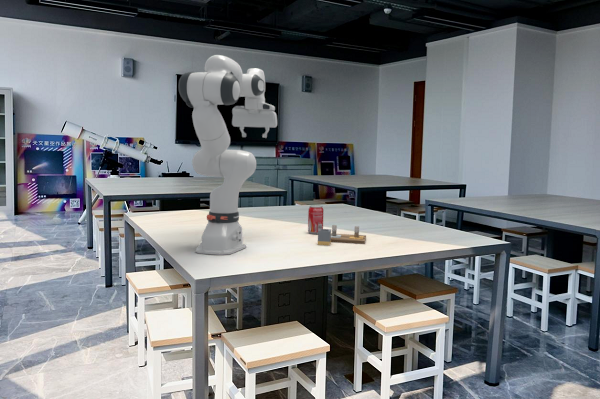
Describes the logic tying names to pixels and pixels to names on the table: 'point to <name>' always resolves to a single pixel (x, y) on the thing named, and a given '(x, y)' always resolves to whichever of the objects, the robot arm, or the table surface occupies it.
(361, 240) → the pin board
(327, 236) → the sleeve
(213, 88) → the robot arm
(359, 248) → the table surface
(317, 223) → the soda can
